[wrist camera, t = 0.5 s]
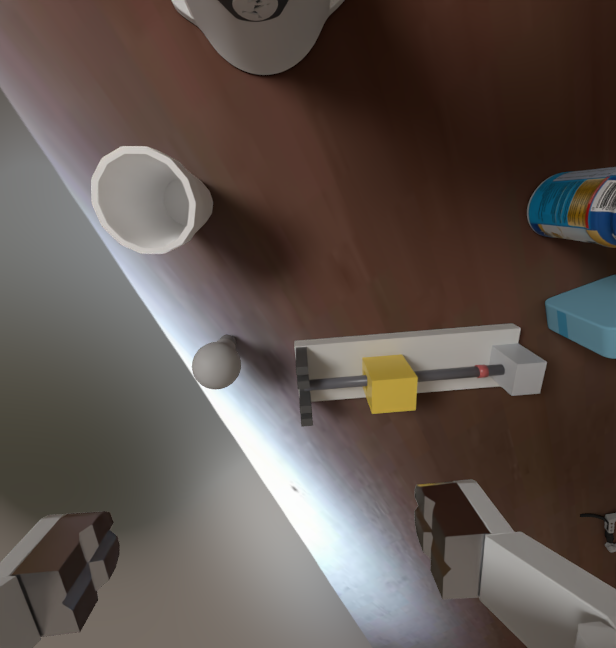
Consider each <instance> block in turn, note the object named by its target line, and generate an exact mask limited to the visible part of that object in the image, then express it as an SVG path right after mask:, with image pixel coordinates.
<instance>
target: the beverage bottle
mask: <svg viewBox="0 0 616 648" xmlns="http://www.w3.org/2000/svg"><path fill="white" fill-rule="evenodd" d="M527 219H528V222H529V225H530V227H531V228H532V229H533V230H534V231H535V232H536V233H538V234H539V235H542V236H546V237H556V238H563V239H570V240H576V241H582V242H589V243H595V244H600V245H602V246H605V247H611V248H616V167H610V168H601V169H593V170H584V171H572V172H562V173H558V174H555V175H553V176H551V177H549V178H547V179H546V180H545V181H543V182H542V183H541V184H540V185H539V186H538V187H537V188H536V190H535V191H534V193H533V194H532V196H531V198H530V200H529V203H528V207H527Z"/></svg>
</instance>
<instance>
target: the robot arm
mask: <svg viewBox="0 0 616 648" xmlns="http://www.w3.org/2000/svg"><path fill="white" fill-rule="evenodd" d="M343 1H344V0H172V3H173V5H174V7H175V9H176V10H177V11H178V12H179V13H180V14H181V15H182V16H183V17H185V18H186V19H187V20H189V21H190V22H192V23H193V24H195V25H196V26H198V27H199V28H200V29H201V31H202V32H203V33H204V34H205V36H206V37H207V39H208V40H209V42H210V43H211V44H212V46H213V47H214V48H215V50H216V51H217V52H218V53H219V54H220V55H221V56H222V57H223V58H224V59H225V60H227V61H228V62H229V63H231V64H232V65H233V66H235V67H237V68H239V69H241V70H243V71H245V72H249V73H252V74H258V75H271V74H276V73H280V72H283V71H285V70H287V69H289V68H291V67H293V66H294V65H296V64H297V63H298V62H300V61H301V60H302V59H303V58H304V57H305V56H306V55H307V54H308V52H309V51H310V50H311V48H312V47H313V45H314V44H315V42H316V40H317V38H318V36H319V34H320V32H321V30H322V27H323V25H324V23H325V21H326V20H327V18H328V17H329V16H330V15H331V14H332V13H333V12H334V11H335V10H336V9H337V8H338V7H339V6H340V5H341V4H342V3H343ZM415 499H416V501H417V503H418V507H417V508H416V510H415V511H414V515H415V527H416V533H417V536H418V540H419V543H420V546H421V548H422V551H423V553H424V554H426V555H427V556H428V557H429V558H430V559H431V567H430V570H431V573H432V575H433V578H434V580H435V583H436V585H437V587H438V590H439V592H440V595H441V597H442V599H459V598H477V597H480V598H479V600H480V601H481V602H482V603H483V604H484V605H485V606H486V607H487V608H488V609H489V610H490V611H491V612H492V613H493V614H495V615H496V616H497V617H498V618H499V619H500V620H501V621H502V622H503V623H504V624H505V625H506V626H507V627H508V628H509V629H510V630H511V631H512V632H513V633H514V634H515V635H516V636H517V637H518V638H519V639H520V640H521V641H522V642H523V643H524V644H525V645H526V646H527V647H528V648H616V589H614V588H613V587H611V586H609V585H608V584H606V583H604V582H603V581H601V580H600V579H598V578H596V577H595V576H593V575H591V574H590V573H588V572H586V571H585V570H583V569H581V568H580V567H578V566H576V565H575V564H573V563H572V562H570V561H568V560H567V559H565V558H563V557H562V556H560V555H558V554H557V553H555V552H553V551H552V550H550V549H548V548H547V547H545V546H544V545H542V544H540V543H539V542H537V541H535V540H534V539H532V538H530V537H529V536H527V535H525V534H524V533H522V532H514V531H513V529H512V528H511V527H510V525H509V524H508V523H507V521H506V520H505V519H504V517H503V516H502V515H501V513H500V512H499V511H498V510H497V508H496V507H495V506H494V504H493V503H492V502H491V500H490V499H489V498H488V496H487V495H486V494H485V492H484V491H483V490H482V489H481V487H480V486H479V485H478V483H477V482H476V481H474V480H473V479H469V480H459V481H453V482H452V481H451V482H441V483H430V484H419V485H416V488H415ZM112 525H113V520H112V517H111V514H110V513H109V512H105V511H103V512H87V513H86V512H85V513H68V514H59V515H48V516H46V517H44V518H42V519H40V521H39V522H38V523H37V524H36V525H35V526H34V527H33V528H32V529H31V530H30V531H29V532H28V533H27V534H26V536H25V537H24V538H23V539H22V540H21V541H20V542H19V543H18V544H17V545H16V546H15V547H14V548H13V549H12V551H11V552H10V553H9V554H8V555H7V556H6V557H5V558H4V559H3V560H2V562H0V648H33V647H34V646H35V645H36V644H37V643H38V642H39V641H40V640H41V637H45V636H53V635H61V634H69V633H77V632H80V631H81V629H82V627H83V626H84V624H85V622H86V620H87V619H88V617H89V615H90V613H91V612H92V610H93V608H94V606H95V604H96V603H97V601H98V594H97V590H98V589H99V588H100V587H102V586H103V585H104V584H105V583H106V582H107V581H108V580H109V579H110V577H111V575H112V573H113V572H114V570H115V568H116V564H117V561H118V557H119V541H118V537H117V536H116V535H115V534H114V533H112V532H111V531H110V528H111V526H112Z"/></svg>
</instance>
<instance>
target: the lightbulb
mask: <svg viewBox="0 0 616 648" xmlns="http://www.w3.org/2000/svg"><path fill="white" fill-rule="evenodd" d="M240 369H241V360H240V357H239V355H238V353H237V351H236V340H235V338H234V337H233V336H231V335H224V336H222V337H221V338H220V340H218V341H217V342H212V343H209V344H206V345H205V346H203V347H202V348H200V349H199V350H198V351H197V353H196V354H195V356H194V359H193V362H192V370H193V374H194V377H195V378H196V380H197V381H198V382H199V383H200V384H201V385H203V386H205V387H207V388H210V389H222V388H225V387H227V386H229V385H230V384H232V383H233V382H234V381H235V380H236V378H237V377H238V375H239V373H240Z"/></svg>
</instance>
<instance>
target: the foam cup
mask: <svg viewBox="0 0 616 648" xmlns="http://www.w3.org/2000/svg"><path fill="white" fill-rule="evenodd" d="M91 196H92V205H93V207H94V210H95V212H96V214H97V216H98V218H99V221H100V223H101V225H102V227H103V228H104V229H105V230H106V231H107V232H108V233H109V234H110V235H111V236H112V237H113V238H114V239H115V240H116V241H117V242H118V243H119V244H120V245H123V246H125V247H127V248H130V249H132V250H134V251H136V252H139V253H141V254H165V253H167V252H170V251H172V250H174V249H176V248H178V247H180V246H182V245H184V244H186V243H187V242H189V241H190V240H191V239H192V237H193V236H194V234H195V233H196V232H197V231H198V230H199V229H200V228H201V227H202V226H203V225H204V224H205V223H206V222H207V220H208V219H209V217H210V216H211V214H212V209H213V200H212V197H211V194H210V191H209V190H208V188H207V187H206V186H205V185H204V184H203V183H202V181H201V180H199V179H198V178H197V177H195V176H194V175H193V174H192V173H190V172H189V171H188V170H186V169H185V167H184V166H183V165H182V164H181V163H180V162H179V161H178V160H176V159H174V158H172V157H170V156H168V155H166V154H164V153H162V152H160V151H158V150H155V149H152V148H149V147H147V146H121V147H119V148H118V149H116V150H114V151H113V152H111V153H109V154H108V155H106V156H104V157H103V158H102V159H101V161H100V162H99V164H98V166H97V168H96V170H95V172H94V174H93V176H92V178H91Z"/></svg>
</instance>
